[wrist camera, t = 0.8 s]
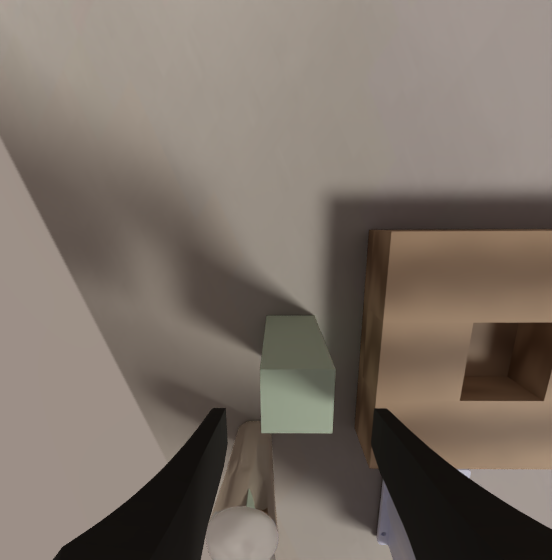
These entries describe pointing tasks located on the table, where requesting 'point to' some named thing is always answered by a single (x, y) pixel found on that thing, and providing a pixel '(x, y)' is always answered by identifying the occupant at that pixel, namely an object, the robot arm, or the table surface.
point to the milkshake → (246, 501)
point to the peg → (296, 377)
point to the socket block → (460, 343)
